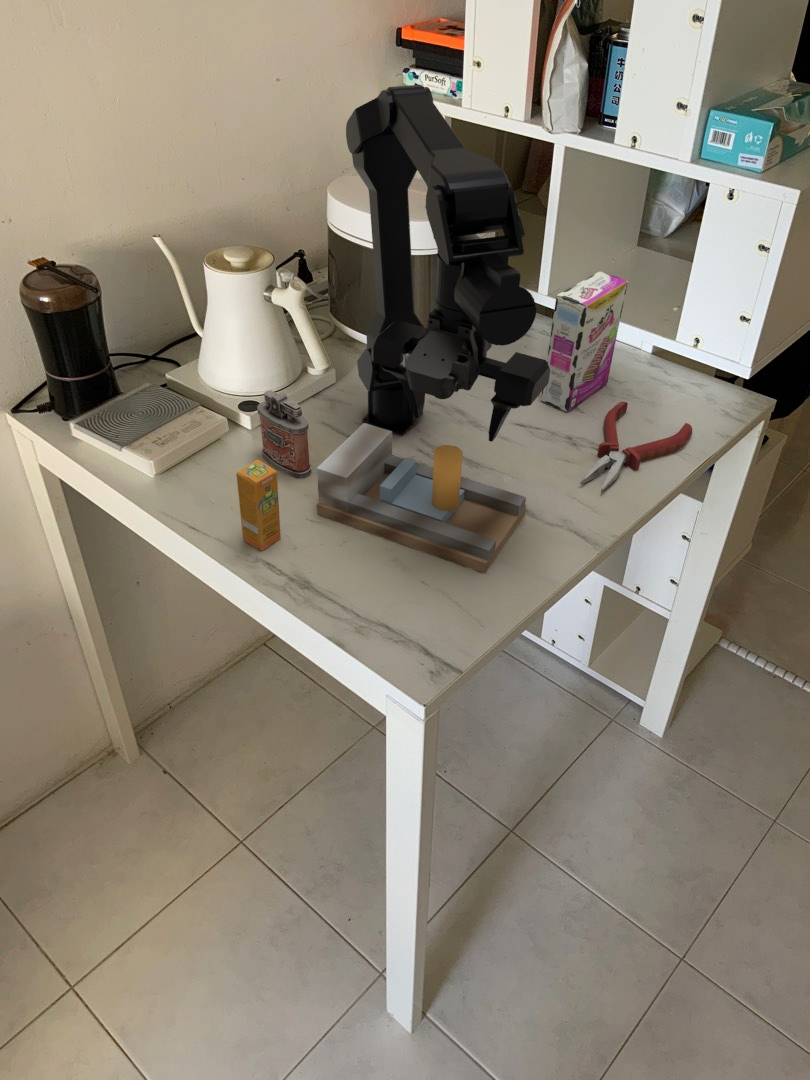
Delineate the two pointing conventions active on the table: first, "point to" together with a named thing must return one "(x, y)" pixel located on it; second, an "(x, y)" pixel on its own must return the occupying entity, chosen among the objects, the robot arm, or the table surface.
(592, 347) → the candy bar box
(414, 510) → the press jaw
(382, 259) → the robot arm
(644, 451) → the pliers
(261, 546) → the supplement box
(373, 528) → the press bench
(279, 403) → the lighter
